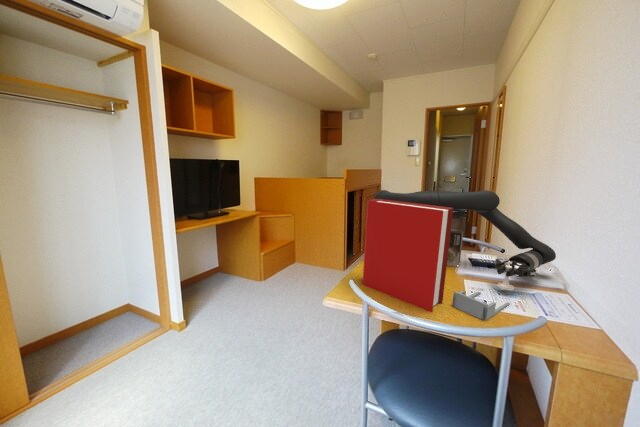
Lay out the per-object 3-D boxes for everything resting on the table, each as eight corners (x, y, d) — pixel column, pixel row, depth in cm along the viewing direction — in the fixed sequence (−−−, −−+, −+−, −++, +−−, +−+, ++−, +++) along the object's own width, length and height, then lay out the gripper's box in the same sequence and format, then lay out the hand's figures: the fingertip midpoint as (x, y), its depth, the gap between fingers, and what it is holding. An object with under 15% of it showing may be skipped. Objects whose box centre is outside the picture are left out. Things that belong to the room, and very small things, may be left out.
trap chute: (452, 306, 88) (453, 291, 87) (478, 293, 97) (479, 280, 96) (484, 320, 80) (487, 305, 79) (509, 305, 89) (511, 291, 88)
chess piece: (494, 284, 100) (497, 258, 98) (506, 284, 100) (510, 258, 99) (504, 290, 95) (508, 263, 93) (517, 290, 96) (521, 263, 94)
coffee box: (460, 263, 127) (464, 230, 124) (458, 267, 122) (462, 233, 119) (439, 259, 132) (442, 227, 129) (436, 263, 127) (440, 230, 124)
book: (442, 303, 89) (453, 207, 84) (432, 312, 83) (443, 210, 78) (372, 278, 108) (377, 198, 102) (360, 284, 102) (365, 200, 97)
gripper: (504, 249, 109) (483, 256, 99) (547, 259, 98) (528, 268, 88) (501, 266, 110) (481, 275, 101) (543, 278, 99) (524, 290, 89)
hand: (503, 272), depth 94 cm, fingers closed on chess piece
